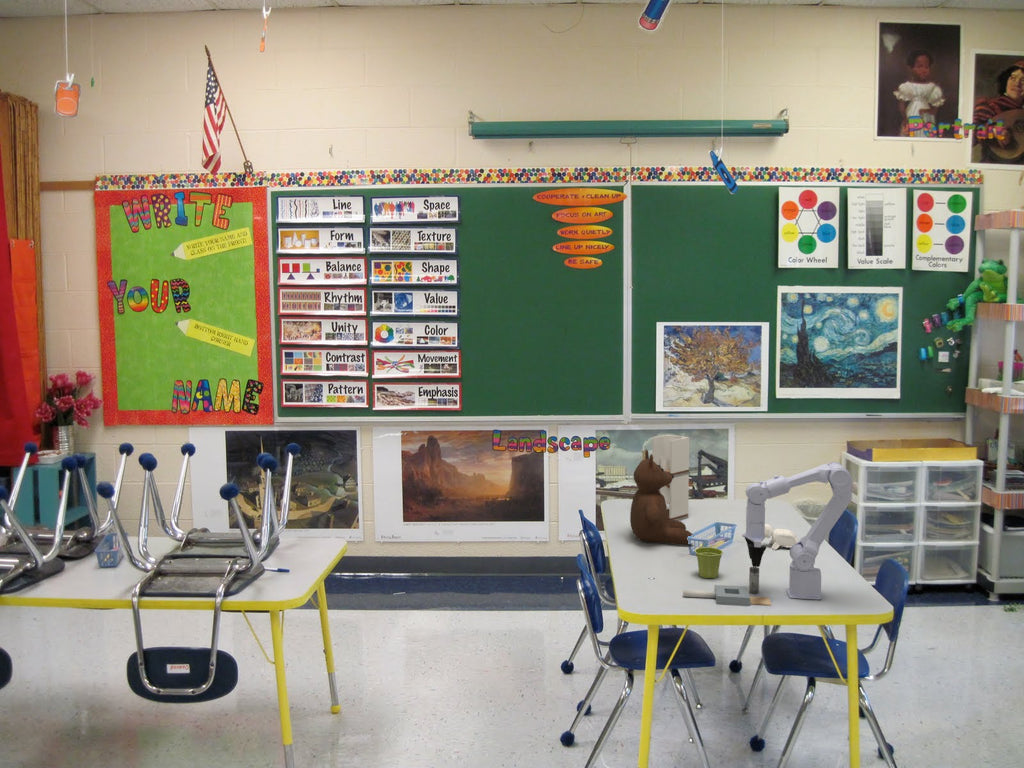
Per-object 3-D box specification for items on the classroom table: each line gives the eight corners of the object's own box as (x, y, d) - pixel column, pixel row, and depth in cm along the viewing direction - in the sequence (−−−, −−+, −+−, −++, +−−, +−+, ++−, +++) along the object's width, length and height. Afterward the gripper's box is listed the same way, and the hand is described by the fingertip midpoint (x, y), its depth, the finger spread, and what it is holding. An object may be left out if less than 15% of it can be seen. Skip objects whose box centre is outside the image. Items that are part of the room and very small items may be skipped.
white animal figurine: (790, 552, 321) (753, 536, 323) (799, 532, 320) (762, 516, 321) (794, 559, 312) (756, 543, 314) (803, 538, 311) (765, 522, 313)
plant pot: (688, 575, 286) (689, 551, 285) (704, 569, 292) (704, 545, 291) (712, 582, 279) (713, 557, 278) (727, 575, 286) (728, 551, 285)
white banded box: (668, 513, 366) (669, 434, 362) (688, 518, 358) (689, 437, 354) (651, 518, 359) (652, 437, 355) (670, 523, 351) (672, 440, 347)
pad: (768, 598, 264) (768, 597, 264) (771, 605, 258) (771, 604, 258) (749, 597, 265) (749, 596, 265) (751, 604, 259) (751, 603, 259)
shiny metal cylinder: (758, 591, 271) (758, 567, 270) (759, 594, 268) (759, 570, 267) (748, 590, 272) (749, 566, 271) (749, 593, 269) (750, 569, 268)
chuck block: (746, 594, 268) (746, 586, 268) (749, 605, 258) (750, 597, 258) (682, 590, 272) (682, 583, 271) (683, 602, 262) (683, 594, 262)
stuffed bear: (698, 552, 312) (701, 459, 309) (637, 551, 312) (639, 459, 308) (681, 530, 341) (684, 445, 338) (625, 529, 341) (627, 445, 337)
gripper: (740, 514, 275) (739, 555, 277) (744, 527, 261) (744, 569, 262) (762, 515, 274) (761, 555, 275) (768, 527, 260) (767, 570, 261)
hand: (754, 562), depth 269 cm, fingers open, 7 cm apart
